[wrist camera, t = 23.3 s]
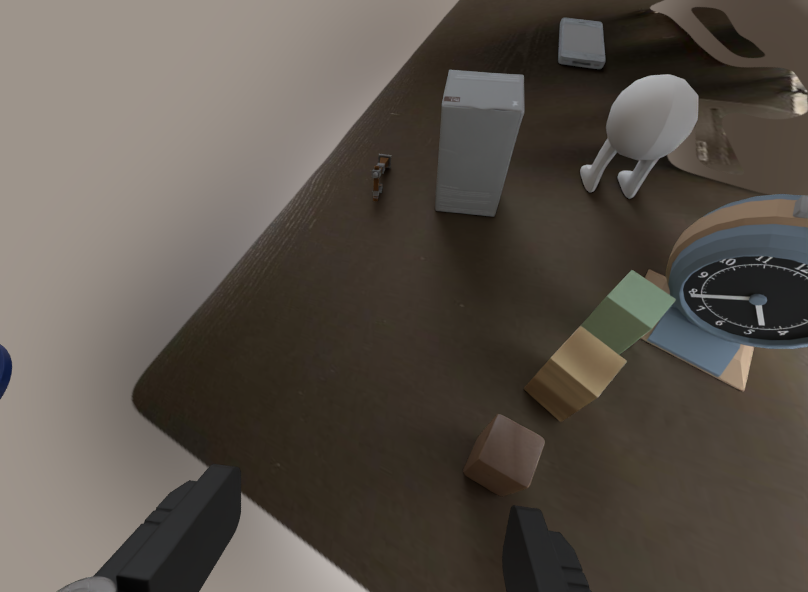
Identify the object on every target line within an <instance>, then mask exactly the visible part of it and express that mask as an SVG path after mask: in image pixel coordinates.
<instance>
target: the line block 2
mask: <svg viewBox="0 0 808 592" xmlns="http://www.w3.org/2000/svg"><path fill="white" fill-rule="evenodd" d="M675 301H676V299H675V298H673V297H672V296H670V295H669V294H667V293H666V292H664V291H663V290H661V289H660V288H658V287H657V286H656V285H654V284H653V283H651V282H650V281H648V280H647V279H645V278H644V277H642V276H641V275H639V274H638V273H636V272H635V271H633V270H631V271H630V272H629V273H628V274H627V275H626V276H625V278H624V279H623V280H622V281H621V282H620V283H619V284H618V285H617V286H616V287H615V288H614V289H613V290H612V291H611V292H610V293H609V294H608V295H607V297H606V298H605V299H604V300H603V301H602V302H601V303H600V304H599V306H598V307H597V308H596V309H595V310H594V311H593V312H592V313H591V315H590V316H589V317H588V318H587V319H586V320H585V321H584V322H583V323H582V325H581V326H582V327H583V328H584V329H586V330H587V331H588V332H590V333H591V334H592V335H594V336H595V337H596V338H597V339H599V340H600V341H601V342H603V343H604V344H605V345H607V346H608V347H609V348H611V349H612V350H613V351H614V352H616V353H617V354H618V355H620V354H621V353H622V352H624V351H625V350H626V349H627V348H629V347H630V346H631V345H632V344H634V343H635V342H636V341H637V340H639V339H640V338H641V337H642V336H644V335H645V334H646V333H648V332H649V331H650V330H651V329H652V328H653V327H654V326H655V325H656V324H657V322H658V321H659V320H660V319H661V317H662V316H663V315H664V314H665V313H666V311H667V310H668V309H669V308H670V307H671V305H672V304H673V303H674V302H675Z"/></svg>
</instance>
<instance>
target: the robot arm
mask: <svg viewBox="0 0 808 592" xmlns="http://www.w3.org/2000/svg"><path fill="white" fill-rule="evenodd" d="M240 514H241V471H240V468H238V467H233V466H225V465H218V464H213V465H211V466H210V467H209V468H208V469H207V470H206V471H205V472H204V474H203V475H202V476H201V477H200V478H199V479H198V481H190V480H189V481H188V482H186V483H184V484H183V485H181V486H180V487H178V488H177V489H175V490H174V491H172V492H170V493H169V495H168V496H167V497H166V498H165V499H164V500H163V501H162V502H161V503H160V504H159V506H158V507H157V508H156V510H155V511H153V512H152V513H151V514H150V515H149V516H148V518H147V519H146V520H145V522H144V524H141V525H140V526H139V527H138V528H137V529H136V530H135V532H134V533H133V534H132V535H131V536H130V537H129V538H128V539H127V540H126V541H125V542H124V544H123V545H122V546H121V547H120V548H119V549H118V550H117V551H116V552H115V553H114V554H113V555H112V557H111V558H110V559H109V560H108V561H107V562H106V563H105V564H104V565H103V567H101V569H100V570H99V571H98V572H97V573H96V574H95V575H94V576H93V577H88V578H84V579H81V580H78V581H75V582H73V583H71V584H69V585H67V586H65V587H63V588H62V589H60V590H58V591H57V592H199V591H200V589H201V588H202V586H203V584H204V583H205V581H206V579H207V578H208V576H209V574H210V573H211V571H212V570H213V568H214V566H215V565H216V563H217V561H218V560H219V558H220V556H221V555H222V553H223V551H224V550H225V548H226V546H227V545H228V543H229V542H230V540H231V538H232V536H233V535H234V533H235V531H236V528H237V526H238V523H239V519H240ZM502 563H503V574H504V580H505V585H506V590H507V592H591V590H589V584H588V582H587V580H586V577H585V575H584V573H582V568H581V565H580V563H579V560H578V558H577V555H576V553H575V551H574V549H573V548H572V547H571V545H570V544H569V543H568V542H567V541H566V539H565V538H564V537H563V536H562V534H561V533H560V532H553V531H548V529H547V526H546V523H545V520H544V517H543V515H542V512H541V510H540V509H537V508H529V507H522V506H515V505H513V506H512V507H511V510H510V515H509V520H508V525H507V530H506V536H505V541H504V546H503V556H502Z"/></svg>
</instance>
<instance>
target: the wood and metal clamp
mask: <svg viewBox="0 0 808 592" xmlns="http://www.w3.org/2000/svg"><path fill="white" fill-rule="evenodd" d="M385 168H391V155H384V154H379V161H378V165H376V166H375V167H374V169H373V170H372V178H374V190H373V201H378V196H379V193H382V187H383V184H382V183H379V177H380V176H381V174H383V173H384V171H385Z"/></svg>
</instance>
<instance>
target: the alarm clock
mask: <svg viewBox="0 0 808 592" xmlns="http://www.w3.org/2000/svg"><path fill="white" fill-rule="evenodd" d="M665 274H666V277H665V276H663V275H661V274H659V273H656V272H654V271H652V270H650V269H649V270H648V272H647V274H646V276H645V279H647V280H648V281H650V282H651V283H653V284H654V285H656V286H657V287H658V288H660V289H661V290H663V291H664V292H666V293H667V294H669V295H670V296H672V297H673V298H675V299H676V301H675V302H674V303H673V304H672V305H671V307H670V308H669V309H668V310H667V311H666V313H665V314H664V315H663V316H662V317H661V319H660V320H659V321H658V322H657V324H656V325H655V326H654V327H653V328H652V329H651V330H650V331H649V332H648V333H646V334H645V335H644V336H642V337H641V338H640V339H642V340H644V341H646V342H648V343H650V344H652V345H654V346H656V347H658V348H660V349H661V350H663V351H665V352H667V353H669V354H671V355H673V356H675V357H677V358H679V359H681V360H683V361H685V362H686V363H688V364H690V365H692V366H694V367H696V368H698V369H700V370H702V371H704V372H706V373H708V374H709V375H711V376H713V377H715V378H717V379H719V380H721V381H723V382H725V383H727V384H729V385H731V386H732V387H734V388H736V389H738V390H740V391H742V392H743V391H744V390H745V386H746V381H747V377H748V372H749V368H750V363H751V358H752V354H753V349H754V347H761V348H769V349H795V348H802V347H808V196H801V195H799V196H798V195H786V194H777V195H767V196H756V197H752V198H748V199H744V200H740V201H737V202H733V203H729V204H726V205H724V206H722V207H720V208H718V209H716V210H714V211H712V212H710V213H708V214H706V215H705V216H704V217H702V218H700V219H699V220H697V221H696V222H695V223H694V224H692V225H691V226H690V227H689V228H687V229H686V230H685V231H684V232H683V233H682V235H681V236H680V237H679V239H678V240H677V242H676V243H675V245H674V247H673V250H672V252H671V255H670V257H669V259H668V264H667V268H666V273H665Z"/></svg>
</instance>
